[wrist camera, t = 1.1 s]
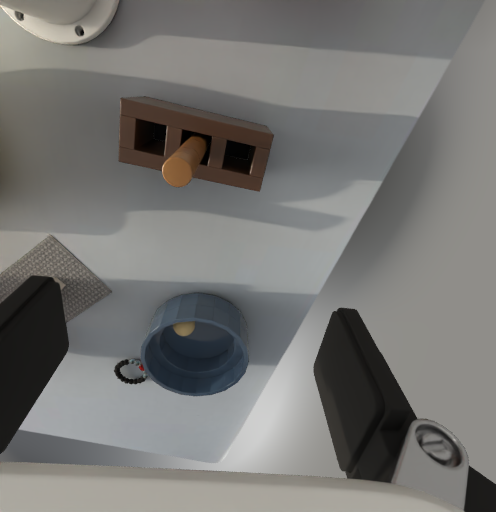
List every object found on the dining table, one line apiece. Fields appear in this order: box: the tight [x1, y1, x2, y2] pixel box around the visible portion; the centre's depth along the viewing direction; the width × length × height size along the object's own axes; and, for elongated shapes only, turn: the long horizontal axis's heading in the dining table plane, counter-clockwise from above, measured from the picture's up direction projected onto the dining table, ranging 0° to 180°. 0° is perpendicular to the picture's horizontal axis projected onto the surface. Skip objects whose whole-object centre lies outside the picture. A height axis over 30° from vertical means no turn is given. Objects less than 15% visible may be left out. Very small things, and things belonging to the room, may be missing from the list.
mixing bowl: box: [141, 293, 249, 396], centre depth 47 cm, size 15×15×6 cm
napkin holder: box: [54, 277, 66, 291], centre depth 43 cm, size 3×7×7 cm, turn 124°
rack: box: [119, 96, 274, 192], centre depth 33 cm, size 6×14×8 cm, turn 77°
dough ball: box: [173, 321, 195, 336], centre depth 47 cm, size 3×3×3 cm
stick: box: [162, 132, 212, 187], centre depth 29 cm, size 2×2×18 cm
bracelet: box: [114, 358, 148, 384], centre depth 53 cm, size 6×6×1 cm
